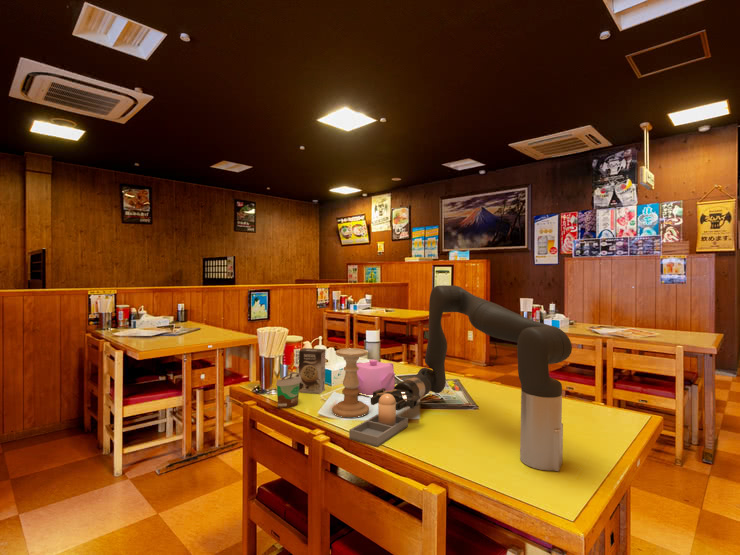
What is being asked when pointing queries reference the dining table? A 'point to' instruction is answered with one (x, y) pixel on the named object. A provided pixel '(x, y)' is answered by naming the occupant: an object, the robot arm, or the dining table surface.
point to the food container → (288, 390)
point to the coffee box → (312, 370)
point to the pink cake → (375, 376)
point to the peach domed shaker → (387, 410)
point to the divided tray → (376, 431)
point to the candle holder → (350, 385)
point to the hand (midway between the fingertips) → (384, 404)
